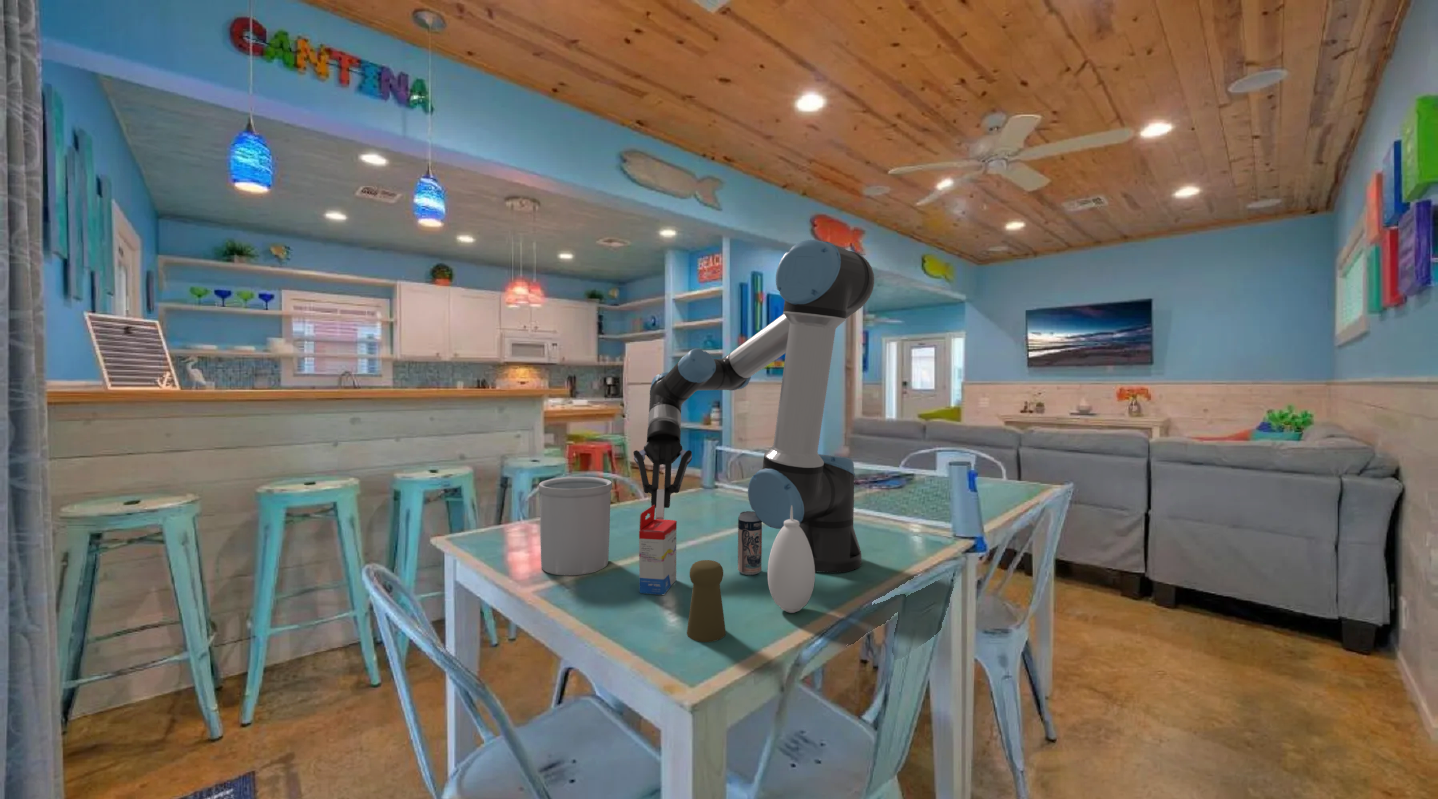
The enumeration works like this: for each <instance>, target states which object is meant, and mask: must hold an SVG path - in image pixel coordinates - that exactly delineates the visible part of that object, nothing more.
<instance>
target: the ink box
mask: <svg viewBox="0 0 1438 799" xmlns="http://www.w3.org/2000/svg"><path fill="white" fill-rule="evenodd" d="M648 514H649V516H648ZM647 516H648V517H647ZM655 517H656V508H655V505H653V506H651V505H650V507H647V509H645V510H644V511H643V512H642V511H641V513H640V515H639V531H638V538H639V539H638V543H639V544H638V545H639V546H638V549H639V550H638V552H639V553H638V554H639V555H638V557H639V560H638V561H639V564H638V565H639V572H638V573H639V576H638V577H639V580H638V581H639V594H645V595H646V594H648V595H657V596H658V595H659V596H664V595H665V594H666V593H667V592H668V591H669V589H670V588H671V587H672V586H673V585H674V583H675V582H676V581H677V528H678V527H677V525H678V524H677V523H678V521H677V520H675V519H674V520H673V519H664V520H662V519H656V518H655Z"/></svg>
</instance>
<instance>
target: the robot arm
mask: <svg viewBox="0 0 1438 799" xmlns="http://www.w3.org/2000/svg"><path fill="white" fill-rule="evenodd" d="M775 286H776V289H777V291H778V292H779V295H780V296H781V298H782V299H783V300H784V304H783V310H782V311H783V313H782V314H781V315H780V316H778V317H777V318H776V319H774V320H773V321H772V322H770V323H769V324H767V325H766V326H765V327H764V328H762V329H761V330H759V331H758V332H757V333H756V334H754V335H753V336H751V337H750V338H749V339H747V340H746V341H745V342H743V343H742V344H741V345H739V346H737V348H735V349H734V350H733V351H731V352H730V353H729V354H727V355H726V356H724V357H723V358H713V357H712V355H711V354H710V353H708V352H707V351H704V350H703V349H702V348H698V347H697V348H693V349H691V350H689V351H688V352H687V353H685V355H684V356H682V357H681V358H680V359H679V360H678V362H677V363H676V364H675V365H674V366H673V367H672V369H670V371H668V372H666V371H664V372H661V373H659V374H658V373H657V374H656V375H655V376H654V377H653V378H652V380H651V384H650V390H649V403H648V404H649V405H648V418H647V420H648V421H647V432H646V434H647V435H646V443H645V444H644V446H643V449H641V450H634V451H633V461H634V462H635V463H636V464H637V466H638V469H639V475H640V479H641V484H642V488H643V489H642V490H643V493H645V494H651V498H650V507H651V506H653V505H655V519H662V520H665V509H669V508H670V506H671V495H672V494H674V493H675V494H679V492H680V490H681V487H682V483H683V480H684V478H685V474H686V471H687V467H688V465H689V464H690V463H691V462H692V460H693V454H692V452H693V451H692V450H690V449H689V450H685V449H683V446H682V443H681V435H682V434H681V431H682V430H681V428H682V427H681V426H682V425H681V424H682V406H683V404H684V403H685V402H686V401H687V400H688V399H690V397H692V395H694V394H695V392H697V391H736V390H742V389H744V388H746V387H747V386H748V384H749V382H750V381H751V379H752V376H753V375H756V374H757V373H758V372H759V371H761V370H763V369H764V368H766V367H767V366H769V365H770V364H772V363H773V362H775V361H776V360H778V359H779V358H780V357H782V356H783V355H785V357H784V365H783V371H782V372H783V373H782V379H781V386H780V393H779V394H780V395H779V400H778V409H777V414H776V415H777V416H776V425H775V430H774V439H773V445H772V447H770V448H768V449H767V450H766V451H765V452H764V455H763V461H762V466H761V469H759V470H757V472H755V474H754V475H752V476H751V478H750V480H749V482H748V486H747V498H748V502H749V505H750V508H751V509H752V510H753V511H754V512H755V514H756V516H757V517H758V518H759V520H760V521H762V524H764V525H766V526H767V527H770V528H772V529H777V530H781V528H782V527H783V526H784V521H785V520H788V519H790V511H791V505H792V507H793V519H794V520H797V521H799V524H800V525H799V527H800V528H801V529H802V530H803V532H804V533H805V535H806V537H807V539H808V542H809V544H810V547H811V550H812V554H813V559H814V566H815V572H819V573H831V574H833V573H835V574H836V573H837V574H838V573H846V572H852V571H854V569H855V570H857V569H859V568H860V567H861V566H862V559H863V558H862V550H861V548H860V545H859V544H860V543H859V541H858V538H857V534H856V531H855V529H854V516H855V515H854V511H855V510H854V508H855V507H854V506H855V505H854V504H855V477H856V473H855V464H854V461H853V459H851V458H850V457H847V456H839V455H832V454H831V455H829V454H820V453H819V452H818V451H819V445H820V439H821V438H820V437H821V430H822V426H823V424H822V423H823V417H824V409H825V403H826V397H827V390H828V383H829V376H830V369H831V364H832V363H831V362H832V357H833V356H832V355H833V349H834V343H835V342H834V341H835V337H836V330H837V328H838V327H839V326H840V325H841V324H843V323H844V322H845V321H846V319H848V318H849V317H851V316H852V315H853V314H855V313H857V311H859V310H860V309H861V308H862V307H863V306H864V305H865V304H867V302H868V301H869V299H870V298H871V296H872V293H873V291H874V287H875V274H874V271H873V267H872V266H871V264H870V262H869V261H868V260H867V259H866V257H864V256H863V255H861V254H860V253H858V252H855V251H853V250H852V251H851V250H847V249H845V248H842V247H840V246H838V245H835V244H833V243H831V242H828V241H822V240H817V239H806V240H805V239H804V240H802V241H800V242H797V243H795V244H794V245H793V246H791V248H789V250H787V251H786V252H785V253H784V254H783V256H782V257H781V259H780V260H779V263H778V265H777V269H776V271H775ZM646 457H647V458H648V459H649V461H650V462H651V463H652V464H653V465H652V476H651V477H652V480H651V484H650V482H649V478H648V473H647V469H646V468H647V467H646V463H645V460H646ZM679 457H680V461H679V464H678V468H677V470H676V474H675V477H674V481H673V483H672V468H673V467H672V464H674V462H676V460H677V459H678V458H679ZM661 465H665V466H664V485H663V486H664V489H663V488H662V489H659V487H660V486H659V485H660V484H659V483H660V469H661V468H660V466H661Z"/></svg>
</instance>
